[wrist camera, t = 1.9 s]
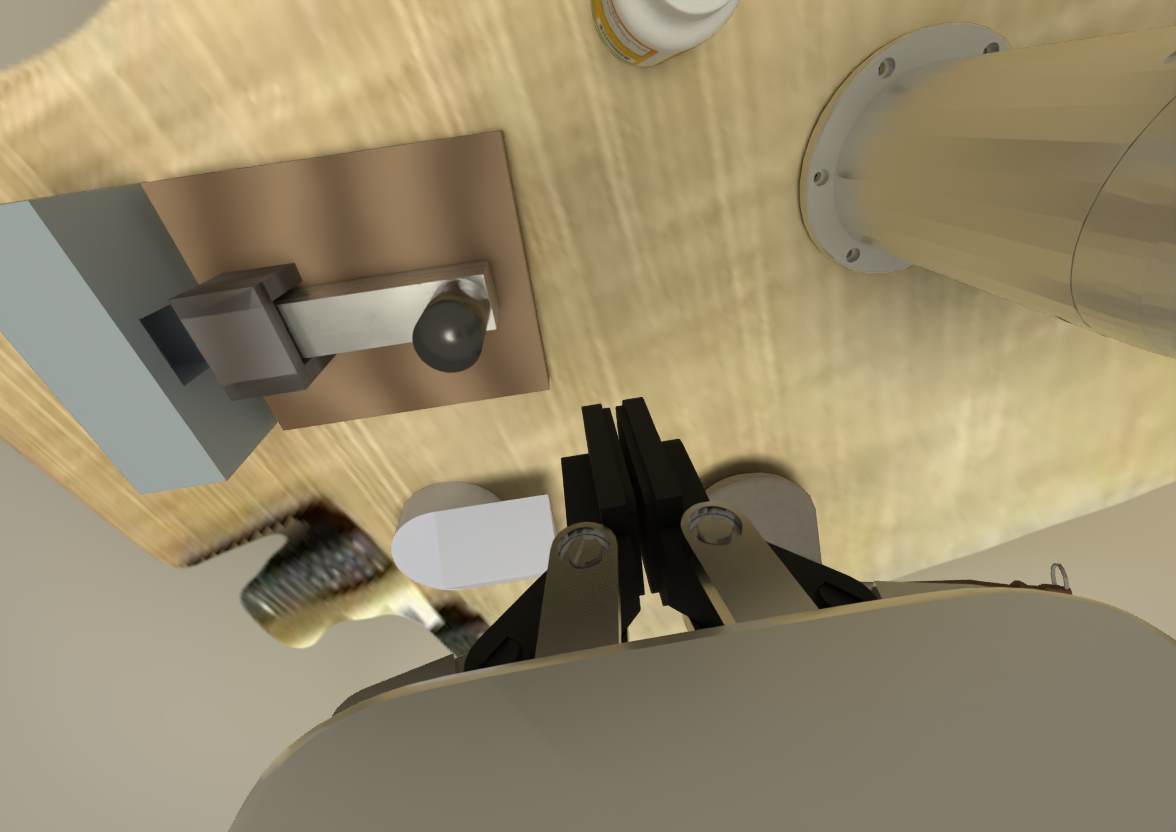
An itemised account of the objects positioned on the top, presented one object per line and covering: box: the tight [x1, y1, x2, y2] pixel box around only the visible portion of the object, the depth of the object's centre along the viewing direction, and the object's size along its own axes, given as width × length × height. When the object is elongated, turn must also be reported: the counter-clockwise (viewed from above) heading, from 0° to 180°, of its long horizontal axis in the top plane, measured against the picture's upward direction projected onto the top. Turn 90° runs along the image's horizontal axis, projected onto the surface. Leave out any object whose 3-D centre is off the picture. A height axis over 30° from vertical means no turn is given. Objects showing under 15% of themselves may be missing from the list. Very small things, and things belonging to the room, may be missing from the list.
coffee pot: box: [705, 472, 1072, 595], centre depth 35 cm, size 21×12×15 cm, turn 113°
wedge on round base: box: [391, 482, 557, 590], centre depth 37 cm, size 9×7×13 cm
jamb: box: [0, 182, 278, 495], centre depth 26 cm, size 5×15×7 cm, turn 7°
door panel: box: [140, 130, 550, 430], centre depth 26 cm, size 18×15×6 cm
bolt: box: [272, 260, 500, 373], centre depth 24 cm, size 12×3×8 cm, turn 97°
